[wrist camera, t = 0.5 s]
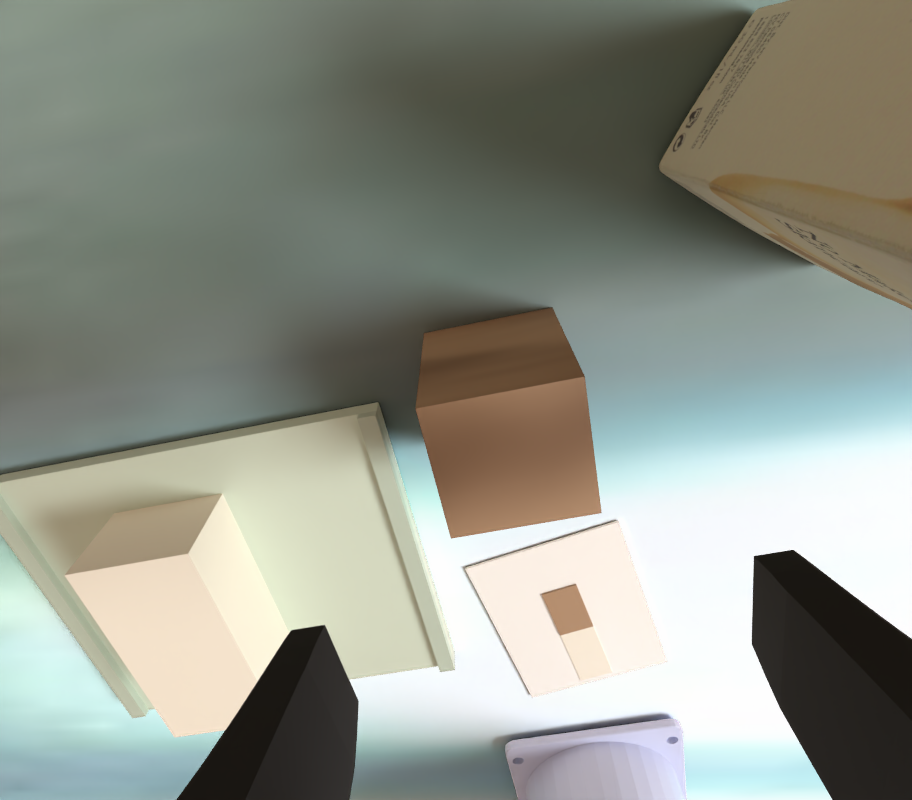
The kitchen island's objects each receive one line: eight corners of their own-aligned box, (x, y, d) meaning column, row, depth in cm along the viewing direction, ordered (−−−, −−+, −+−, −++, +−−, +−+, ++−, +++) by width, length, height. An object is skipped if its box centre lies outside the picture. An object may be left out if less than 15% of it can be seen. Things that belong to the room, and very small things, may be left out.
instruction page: (666, 659, 25) (667, 663, 25) (531, 695, 26) (532, 699, 26) (617, 520, 22) (619, 523, 22) (465, 567, 23) (465, 570, 23)
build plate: (454, 651, 25) (454, 669, 24) (142, 698, 26) (132, 718, 25) (378, 402, 20) (375, 415, 19) (-11, 477, 21) (-29, 492, 20)
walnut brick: (568, 419, 20) (601, 512, 16) (451, 440, 20) (451, 538, 16) (552, 307, 18) (584, 376, 14) (424, 333, 18) (415, 408, 14)
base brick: (298, 652, 24) (279, 722, 21) (205, 666, 24) (174, 737, 22) (222, 493, 20) (187, 553, 18) (113, 513, 21) (64, 575, 18)
